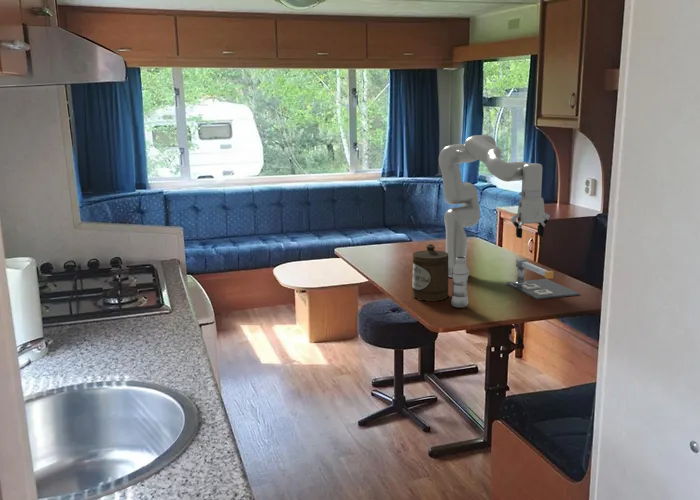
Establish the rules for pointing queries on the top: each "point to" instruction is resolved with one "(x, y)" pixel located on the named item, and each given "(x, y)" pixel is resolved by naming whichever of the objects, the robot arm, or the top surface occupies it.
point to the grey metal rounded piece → (520, 277)
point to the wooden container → (430, 274)
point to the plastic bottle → (459, 283)
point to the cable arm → (533, 268)
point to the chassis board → (544, 284)
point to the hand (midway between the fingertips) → (529, 236)
